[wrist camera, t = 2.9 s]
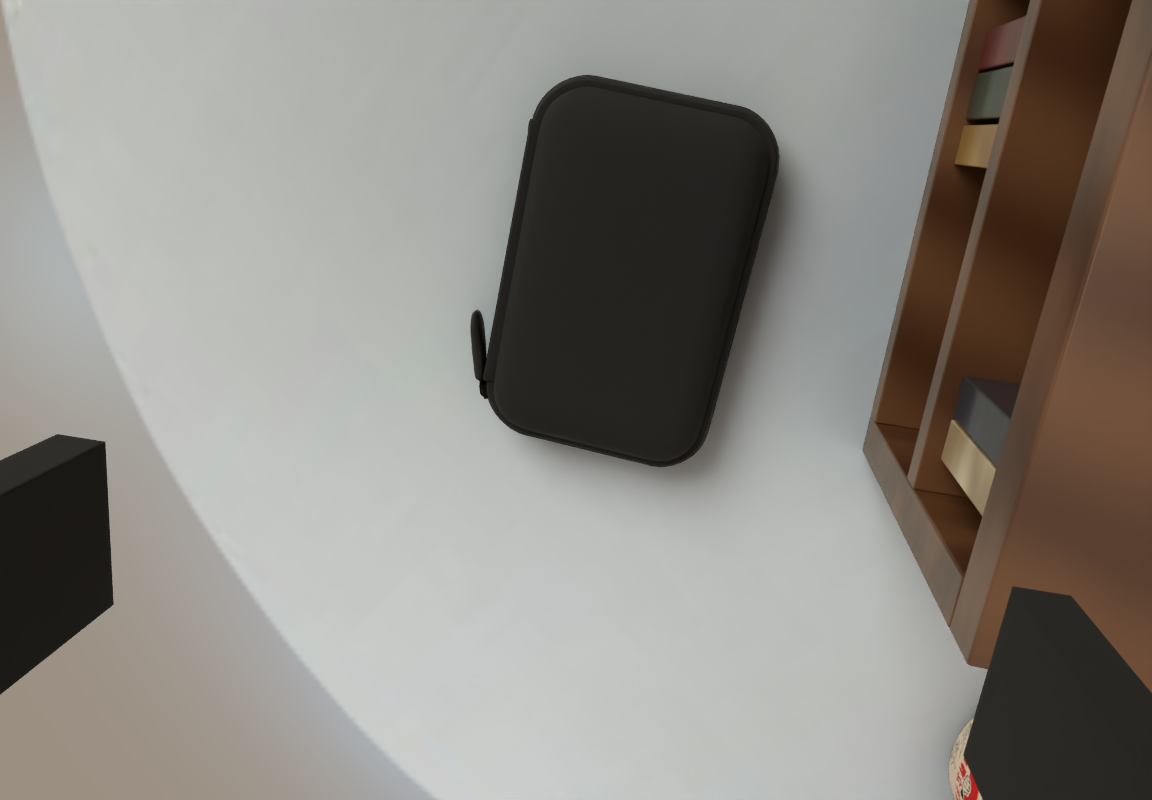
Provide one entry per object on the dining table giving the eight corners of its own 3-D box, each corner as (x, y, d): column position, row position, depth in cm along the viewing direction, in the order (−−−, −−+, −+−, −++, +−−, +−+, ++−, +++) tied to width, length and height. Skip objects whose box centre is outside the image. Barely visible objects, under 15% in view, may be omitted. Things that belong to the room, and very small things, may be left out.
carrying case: (523, 62, 35) (464, 406, 39) (506, 55, 32) (445, 427, 36) (788, 117, 34) (697, 462, 39) (796, 116, 31) (696, 489, 36)
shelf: (985, -70, 31) (1246, -261, 16) (1253, -42, 30) (1796, -219, 15) (862, 450, 37) (966, 666, 22) (1081, 486, 36) (1347, 737, 21)
